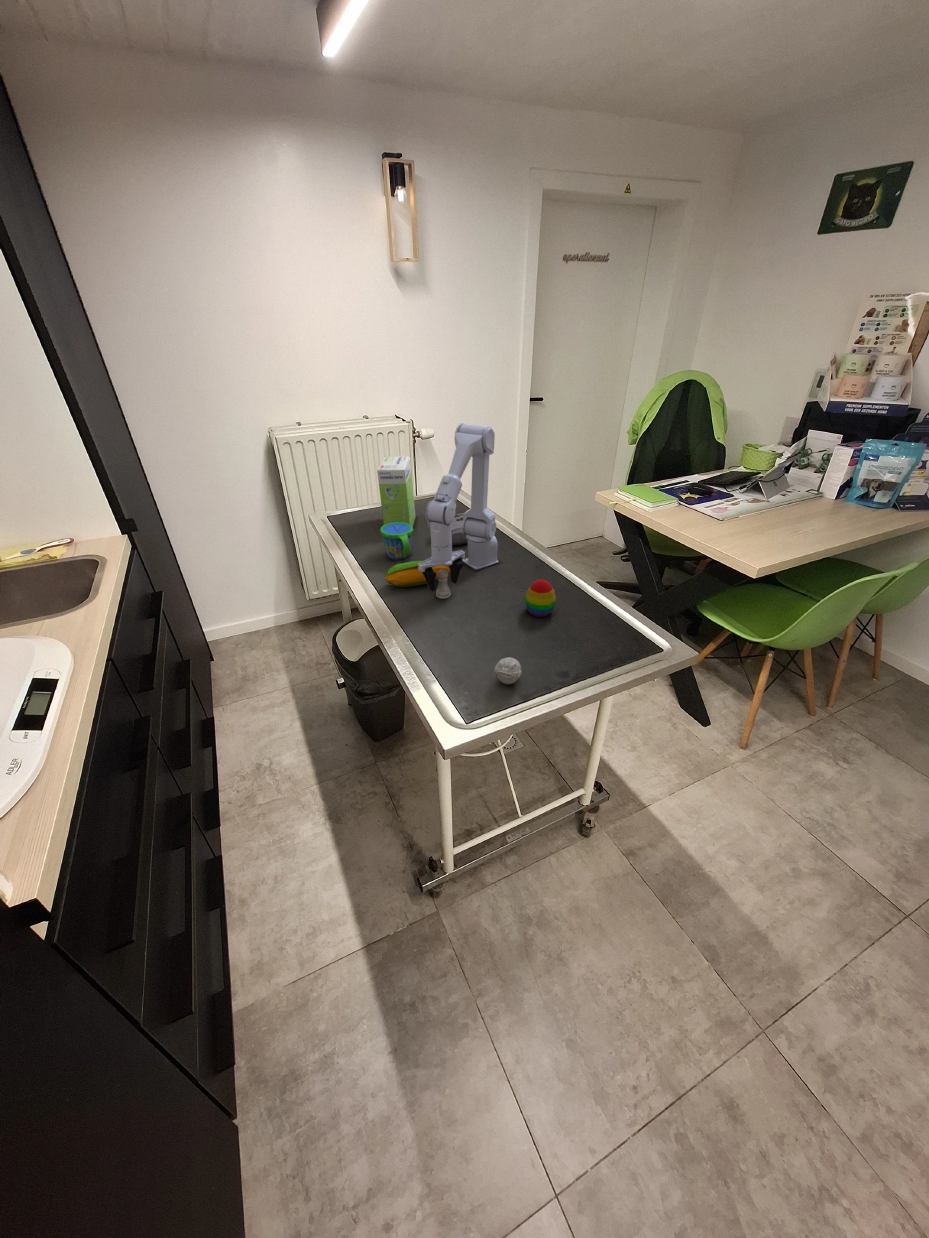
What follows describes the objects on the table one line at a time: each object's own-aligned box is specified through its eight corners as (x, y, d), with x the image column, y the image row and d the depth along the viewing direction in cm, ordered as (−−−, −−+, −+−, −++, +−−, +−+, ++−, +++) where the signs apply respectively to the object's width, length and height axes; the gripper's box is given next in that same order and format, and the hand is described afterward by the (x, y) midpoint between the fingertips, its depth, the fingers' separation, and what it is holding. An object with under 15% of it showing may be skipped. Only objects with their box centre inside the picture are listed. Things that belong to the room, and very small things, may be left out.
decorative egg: (558, 618, 132) (561, 586, 127) (529, 621, 131) (531, 589, 126) (548, 602, 139) (552, 572, 134) (521, 605, 138) (523, 574, 132)
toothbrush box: (390, 517, 194) (384, 455, 181) (415, 517, 194) (411, 455, 181) (383, 535, 180) (376, 469, 166) (411, 535, 180) (406, 469, 166)
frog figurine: (490, 688, 109) (490, 664, 105) (499, 670, 114) (500, 646, 110) (516, 695, 107) (517, 670, 103) (524, 676, 112) (526, 652, 108)
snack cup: (421, 562, 161) (419, 534, 155) (390, 568, 157) (387, 539, 152) (407, 544, 173) (404, 517, 167) (378, 549, 169) (374, 522, 164)
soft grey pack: (450, 550, 168) (498, 537, 177) (450, 528, 164) (498, 516, 172) (430, 535, 179) (475, 524, 188) (429, 514, 174) (476, 503, 183)
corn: (381, 559, 146) (446, 551, 150) (384, 581, 150) (446, 571, 155) (385, 572, 140) (452, 562, 145) (388, 594, 145) (452, 584, 149)
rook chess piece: (445, 601, 140) (444, 576, 136) (432, 597, 142) (431, 572, 138) (453, 594, 143) (453, 570, 139) (441, 590, 145) (440, 566, 141)
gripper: (426, 555, 127) (428, 599, 135) (471, 541, 134) (471, 584, 142) (412, 546, 132) (416, 589, 140) (456, 533, 139) (457, 575, 147)
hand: (443, 586), depth 141 cm, fingers open, 7 cm apart
